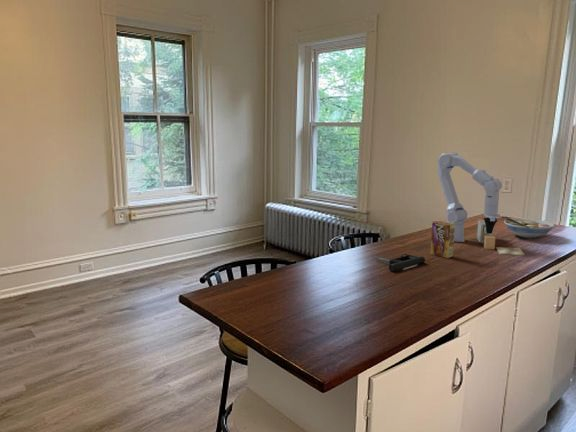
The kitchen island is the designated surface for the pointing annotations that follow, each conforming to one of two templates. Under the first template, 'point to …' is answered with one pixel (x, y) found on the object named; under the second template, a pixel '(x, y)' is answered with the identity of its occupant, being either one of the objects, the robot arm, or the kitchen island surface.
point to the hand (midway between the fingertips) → (489, 233)
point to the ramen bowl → (528, 227)
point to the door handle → (402, 262)
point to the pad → (510, 251)
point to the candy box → (442, 238)
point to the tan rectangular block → (489, 242)
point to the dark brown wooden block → (482, 231)
